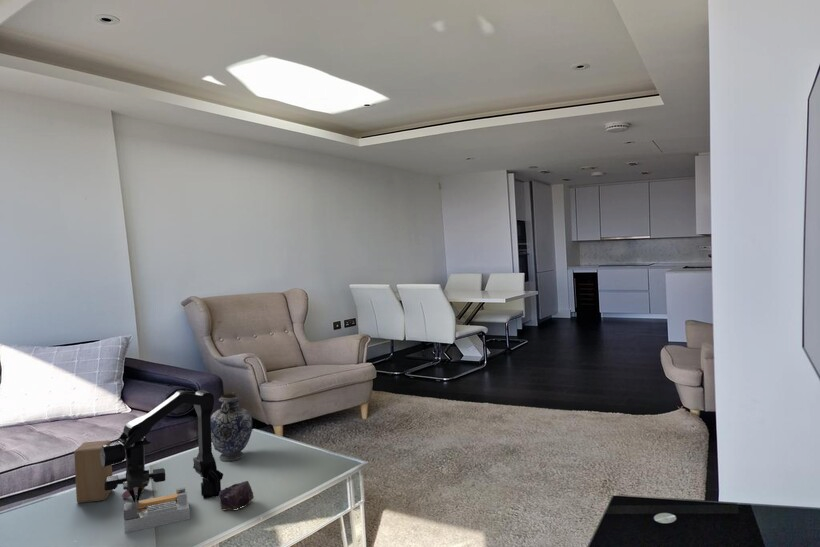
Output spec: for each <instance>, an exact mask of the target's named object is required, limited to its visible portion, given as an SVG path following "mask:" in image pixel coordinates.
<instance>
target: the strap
mask: <svg viewBox="0 0 820 547" xmlns="http://www.w3.org/2000/svg"><path fill="white" fill-rule="evenodd" d="M181 493H182V492H181ZM181 493H178V494H181ZM174 500H177V494H176V493H173V494H169V495H161V496H159V497H158V496H157V497H152V498H147V499H141V500H139V502H138V503H137V508H138V507H143V506H148V505H153V504H158V503H163V502H168V501H174Z"/></svg>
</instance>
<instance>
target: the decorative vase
mask: <svg viewBox="0 0 820 547" xmlns="http://www.w3.org/2000/svg"><path fill="white" fill-rule="evenodd" d="M241 400H242V396H241V395H240V394H239V393H237V392H236V391H233V392H232V393H226V394H222V395H221V396H220V398H218V402H220V403H221V406H220V409H216V411H215V412H213V413H211V443H212V447H213V449H214V450H215V451H217V452H218V453H220V454H219V458H218V459H219V461H220V462H225V461H226V462H228V461H229V462H236V461H239V460H241V459H243V458H244V456H245V453H244V452H243V450H244V449H245V448H246V446H248V443H249V441H250V439H251V436H252V432H253V417H252V414H251V413H250V411H248V410H247V409H245V408H243V407H240V406H239V405H240V404H239V401H241ZM226 462H225V463H226ZM229 462H228V463H229Z"/></svg>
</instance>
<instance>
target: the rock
mask: <svg viewBox="0 0 820 547" xmlns="http://www.w3.org/2000/svg"><path fill="white" fill-rule="evenodd" d="M218 497H219V500H220V504H219V505H220V508H221V509H222V510H223V509H228V510H232V511H234V510H233V509H237V508H240V507H242V506H245V505H246V506H248V505H250V502H251V501H252V500H253V499H254V498H255V496H254V492H253V489H252V487H251V484H250V482H249V481H248V480H245V481H242V482H239V483H233V484H232V485H230V486H228V487H225V488H224V489H221V491H220V492H219V496H218ZM246 506H245V507H246Z"/></svg>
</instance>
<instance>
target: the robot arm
mask: <svg viewBox="0 0 820 547" xmlns="http://www.w3.org/2000/svg"><path fill="white" fill-rule="evenodd" d="M215 399H216V398H215V396H214V395H213V393H211V392H209V391H207V390H203V389H199V390H197V391H189V390H187V391H186V390H185V391H184V390H177V391H176V392H175V393H174V394H173V395H171V396H170V397H168V398H167V399H166V400H164V401H163V402H161V403H160V404H158V405H157V406H156V407H155V408H153V409H152V410H151V411H149V412H148V413H146V414H144V415H142V416H141V415H140V416H138V417H136V418H134V419H132V420H130V421H128V422H126V424H125V425H124V426H123V430H122V432H121V434H120V435H119V437H118V439H117V440H116V442H115V443H111V444H110V445H103V446H102V450H101V454H100V460H101V464H102V466H103V467H105V466H109V465H112V466H113V465H116V464H120V463H121V464H122V463H123V462H124V461H125V468H126V469H125V472H126V473H125V477H121V478H120V477H119V475H118V474H117V475H112V476H109V477H107V478H106V479H105V484H104V488H105V490H106V491H107V490H112V491H113V490H116V489H117V488H118V486H119V485H122V489H123V490H124V491H126V490H128V491H129V493H130V495H131V496H130V498H131V499H132V502H135V501H137V503H138V502H139V501H140V499H141V495H142V492H143V491H144V490H143V488H144V487H145V486H146V487H148V485H149V483H148V481H149V479H150V480H152V481H153V482H154V483H160V482H165V481H166V469H165V468H161V467H160V468H156V469H153V470H152V472H151V473H150V470H149V469H146V466H145V446H146V445H150V444H151V441H150V440H148V439H147V435H148V434H149V433H150V432H151V430H152V428H153V427H155V425H156V424H157V423H159V422H160V421H161V420H163V419H164V418H165V417H167V416H169V415H170V414H171V413H172V412H174V411H175V410H176V409H178V407H180V406H181V405H182V406H183V404H190V405H193V407H194V410H195V413H196V414H197V415H196V416H197V432H198V433H197V434H198V435H197V438H198V441H197V443H198V453H197V455H196V457H193V458H192V461H193V467H192V469H194V470H195V473H196V474H198V475H199V476H200V477H201V478H202V480H201V481H202V482H200V495H201V496H202V498H203V499H205V500H206V499H210V498H216V496H217V497H219V492H220V491H221V490H222V485H221V484H222V482H221V481H222V480H223V477H224V473H223V472H221V471H220V470H218V468H217V467H218V466H217V464H216V459H215V457H214V454H213V452H212V451H213V449H212V447H213V443H212V441H211V416H212V414H213V413H212V412H214V408H215V402H216V401H215ZM145 469H146V470H145ZM149 482H150V481H149ZM135 487H138V491H137V495H136V496H135V490H134V488H135ZM146 487H145V488H146ZM145 488H144V489H145ZM142 490H143V491H142Z"/></svg>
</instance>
